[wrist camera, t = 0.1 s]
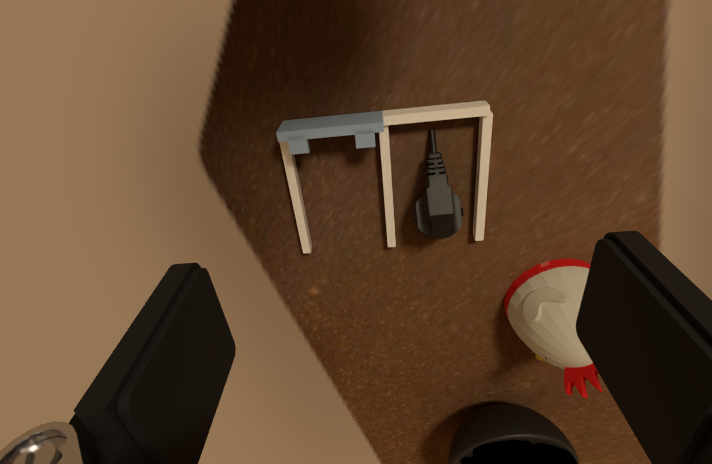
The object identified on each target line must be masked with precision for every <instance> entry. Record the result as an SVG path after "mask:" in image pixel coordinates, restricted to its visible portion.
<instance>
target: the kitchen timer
mask: <svg viewBox="0 0 712 464" xmlns="http://www.w3.org/2000/svg"><path fill="white" fill-rule="evenodd" d="M590 265H591V264H588V263H586V262H584V261H581V260H573V259H560V260H551V261H548V262H545V263H542V264H539V265H536V266H534V267H533V268H531V269H529V270H527V271H525V272H524V273H523V274H521V275H520V276H519V277H518V278H517V279H516V280H515V281H514V282H513V283H512V285H511V286H510V288H509V289H508V291H507V292H506V296H505V300H504V307H505V313H506V316H507V318H508V320H509V322H510V324H511V326H512V327H513V329H514V330H515V332H516V334H517V335H518V336H519V337H520V339H521V340H522V341H523V342H524V343H525V344H526V345H527V346H528V347H529V348H530V349H531V350H532V351H533V352H534V353H535V355H536V359H538V360H542V361H545V362H548V363H550V364H552V365H554V366H556V367H557V368H561V369H564V370H565V374H564V386H565V392H566V393H567V394H568V395H570V396H571V393H572V389H573V386H574V385H575V386H576V388H577V390H578V391H579V393H580V395H581V396H583V397H584V398H585V399H587V392H586V386H585V380H586V379H588V380H589V381H590V383H591V384H592V385H593V386H594V387H595V388H596V389H598V390H599V391H600V392H602V388H601V386H600V383H599V381H598V377H597V374H598V373H599V372H598V371H597V369H596V367H595V366H594V364H593V362H592V360H591V359H590V357H589V355H588V354H587V352H586V350H585V349H584V347H583V345H582V343H581V342H580V340H579V338H578V336H577V333H576V320H577V316H578V312H579V308H580V304H581V300H582V297H583V293H584V289H585V285H586V281H587V277H588V273H589V269H590ZM602 393H603V392H602Z"/></svg>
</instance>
